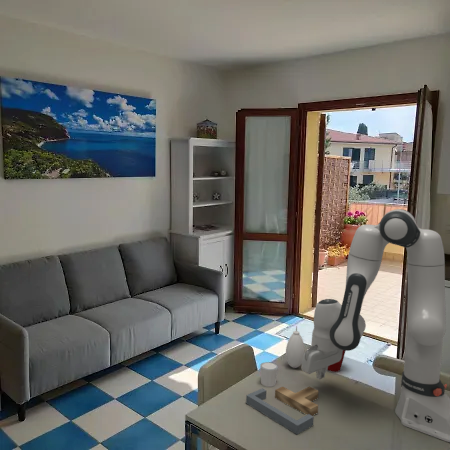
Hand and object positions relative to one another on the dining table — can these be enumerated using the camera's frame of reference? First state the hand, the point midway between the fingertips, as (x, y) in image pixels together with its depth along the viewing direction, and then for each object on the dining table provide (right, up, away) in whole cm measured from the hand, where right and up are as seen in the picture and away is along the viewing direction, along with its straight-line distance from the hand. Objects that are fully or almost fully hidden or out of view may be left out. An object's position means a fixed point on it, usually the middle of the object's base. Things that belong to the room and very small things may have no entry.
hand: (320, 377), depth 160 cm
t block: (-8, -6, -7) cm, 12 cm away
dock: (-17, -7, -15) cm, 23 cm away
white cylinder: (-19, -4, +6) cm, 20 cm away
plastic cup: (+10, -4, +20) cm, 23 cm away
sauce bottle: (-6, -3, +21) cm, 22 cm away
